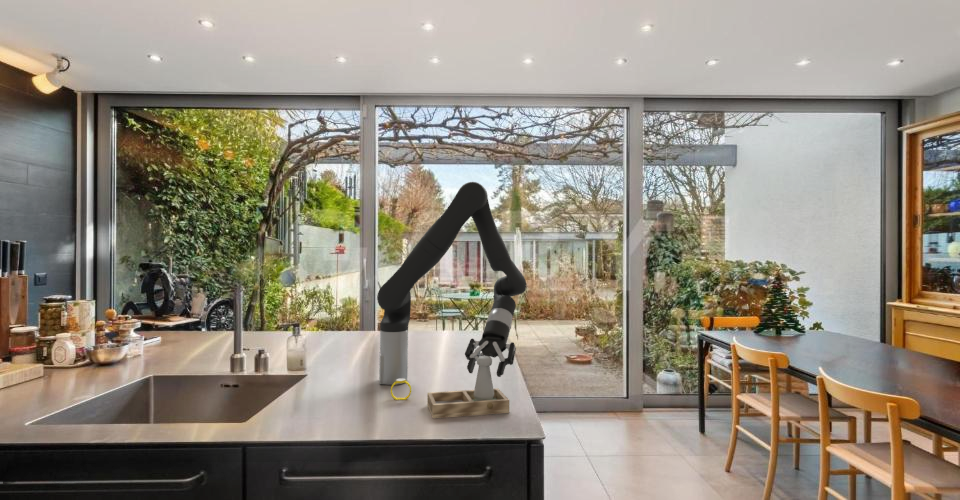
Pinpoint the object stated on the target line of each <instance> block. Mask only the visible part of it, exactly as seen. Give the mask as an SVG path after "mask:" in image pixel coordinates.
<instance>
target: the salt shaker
mask: <svg viewBox="0 0 960 500" xmlns="http://www.w3.org/2000/svg"><path fill="white" fill-rule="evenodd" d="M476 364H477V365H478V369H477V375H476V379H475V384H474V385H475V386H474V389H473V390H474V397H475V400H476V401H485V400H492V399H493V397H494V389H495V388H494V385H493V383H494V382H493V379H492V372H491V367H490V366H492V365H493V357H489V356H480V357H478V358H477V361H476Z"/></svg>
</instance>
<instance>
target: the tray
mask: <svg viewBox="0 0 960 500" xmlns="http://www.w3.org/2000/svg"><path fill="white" fill-rule="evenodd" d="M493 389H494V397H493V399H492V400H485V401H476V400H475V397H474V389H468V390H467V389H465V390H450V391H448V390H447V391H446V390H445V391H433V392H432V391H431V392H430V391H429V392H427V401H426V402H427V404H426V405H427V408H428V410H429V412H430V415H431V418H432V419H442V418H443V419H444V418H457V417H458V418H461V417H470V416H471V417H472V416H486V415H499V414H509V413H510V399H509V397H507V395H505V394H504V392H502V390H501V389H499V388H498V387H497V388H496V387H495V388H493Z"/></svg>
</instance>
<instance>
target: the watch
mask: <svg viewBox="0 0 960 500" xmlns="http://www.w3.org/2000/svg"><path fill="white" fill-rule="evenodd" d="M396 383H403V384H406V385H407V386H408V388H409V393H408V395H407V396H406V397H397V396H395V395H394V393H393V388H394V386H395V384H396ZM390 386H391V387H390V395H391V397H392V398H393V399H394V400H395V401H407V400H408V399H409V398H410V396H411V393H412V385H411V384H410V383H409V381H408V380H407V381H406V379H403V378H400V379H397V380H396V382H394V383H393V385H390Z"/></svg>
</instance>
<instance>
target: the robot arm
mask: <svg viewBox="0 0 960 500" xmlns="http://www.w3.org/2000/svg"><path fill="white" fill-rule="evenodd" d="M469 219H472V220H473V222H474V224H475V228H476V230H477V232H478V236H479V239H480V242H481V244H482V245H481V246H482V248H483V251H484V254H485V256H486V258H487V261H488V263H489V266H490V268H491V270H492V271H494V272H502V273H503V274H504V275H505V276H501V277H499V278H498V279H496V281H495V283H494V285H493V303H492V307H491V310H490V311H489V312H490V313H489V314H488V316H487V320H486V323H485V326H484V329H483V332H482V334H481V339H480V340H475V339H474V338H471V339H470V340H469V343H468V344H467V347H466V349H465V353H464V355H465V358H466V360H467V361H468V363H467V366H466V369H467V370H468V373H469V374H473V372H474V370H475V367H476V363H477V358H478V357H480V356H489V357H491V358H497V357H498V359H499V362H498V366H497V368H496V376H497V377H498V378H501V377H502V376H503V375H504V373H505V369H506V367H507V365H510V366H512V365H514V362H515V355H516V349H517V348H516V343H514V342H513V341H512V342H510V343H507V342H508V339H509V335H510V332H511V329H512V323H513V318H514V315H515V311H516V310H515V309H516V306H517V305H516V301H515V300H514V298H513V297H515V296H518V295H522V294H524V293H525V292H526V290H527V281H526V278H525V276H524V274H523V273H522V272H521V270H520V269H519V268H518V267H517V265H516V264H515V263H514V262H513V260H512V258H511V256H510V254H509V252H508V249H507V247H506V246H507V245H506V244H505V242H504V239H503V238H502V236H501V233H500V231H499V230H498V227H497V225H496V223H495V220H494V217H493V215H492V210H491V208H490V203H489V197H488V192H487V190H486V188H485V187H484V185H482V184H481V183H479V182H477V181H468V182H465V183H464V184H462V186H461V187H460V188H459V189H458V191H457V192H456V194H455V196H454V197H453V199H452V200H451V202H450V204H449V205H448V206H447V208H446V210H445V211H444V212H443V213H442V214H441V215H440V216H439V217H438V219H437V220H436V221H435V222H433V224H432V225H431V226H430V227H429V228H428V230H427V231H426V232H425V233H424V234H423V235H422V237H421V238H420V239H419V241H418V242H417V244H415V246H414V247H413V249H412V250H411V252H410V253H409V254H408V256H406V258H405V259H404V261H403V263H402V264H401V265H400V267H399V268H398V269H397V270H396V271H395V273H393V274H392V275H391V277H389V278H388V279H387V280H386V282H385V283H384V284H383V285H381V286H380V288H379V290H378V291H377V296H376V300H377V303H378V305H379V307H380V308H381V309H383V310H384V312H383V315H382V316H383V317H382V319H381V321H380V323H379V358H378V359H379V361H378V362H379V363H378V365H379V367H378V374H379V376H378V379H379V385H388V386H392V385H393V383H394V382H396V380H397V379H400V378H403V379H406V381H407V382H408V376H409V375H408V374H409V373H408V368H409V366H408V365H409V363H408V362H409V360H408V359H409V323H410V321H411V320H410V319H411V306H412V304H411V303H412V296H411V290H412V289H413V287H414V286H415V285H416V283H417V282H418V281H419V280H420V279H422V278H423V277H424V276H425V275H427V273H429V271H431V270H433V268H434V267H435V266H436V265H437V264H439V262H440V261H441V260H442V258H443V257H444V256H445V254H447V252H448V251H449V249H450V248H451V247H452V246H453V243H454V242H455V241H456V238H457V236H458V234H459V233H460V230H461V229H462V227H463V226H464V225H465V224H466V222H467V221H468V220H469ZM506 350H507V351H508V354H507V357H505V356H504V354H503V353H504V352H505V351H506ZM403 384H404V383H396V384H395V385H403ZM395 385H394V386H395Z"/></svg>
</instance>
